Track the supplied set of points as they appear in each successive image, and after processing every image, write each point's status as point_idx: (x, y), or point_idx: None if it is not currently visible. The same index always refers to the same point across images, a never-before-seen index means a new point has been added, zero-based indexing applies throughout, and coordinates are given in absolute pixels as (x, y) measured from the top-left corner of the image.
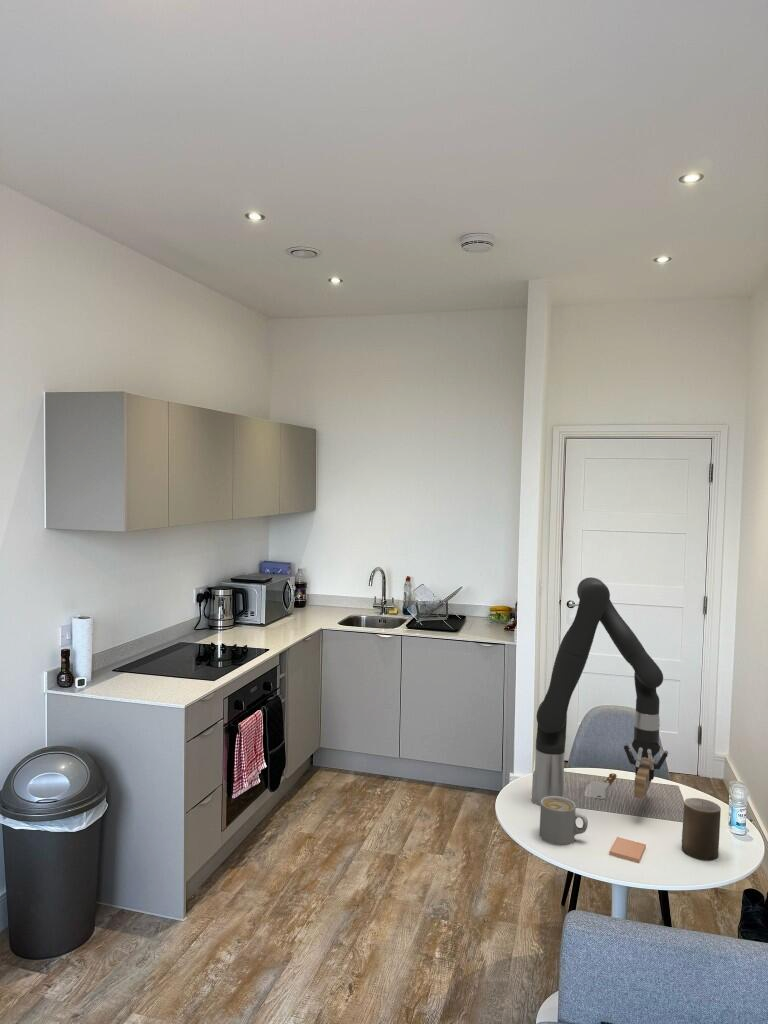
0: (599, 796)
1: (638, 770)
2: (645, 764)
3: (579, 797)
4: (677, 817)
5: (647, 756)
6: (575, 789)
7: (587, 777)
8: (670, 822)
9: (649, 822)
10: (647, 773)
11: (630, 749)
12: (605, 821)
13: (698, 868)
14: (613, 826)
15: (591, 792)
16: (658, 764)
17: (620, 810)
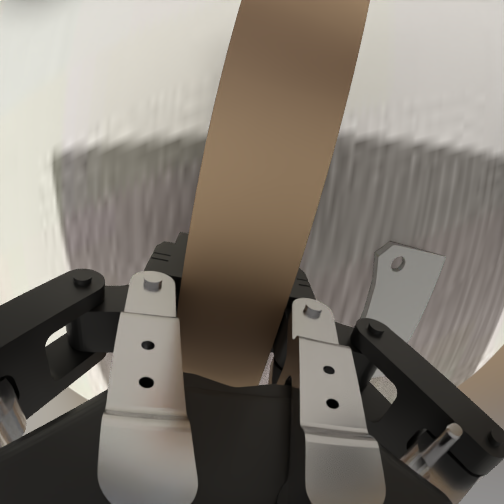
0: (394, 270)
1: (318, 187)
2: (220, 371)
3: (457, 241)
4: (94, 186)
5: (197, 394)
6: (450, 299)
7: (387, 391)
8: (122, 122)
9: (212, 84)
10: (213, 120)
11: (435, 449)
12: (399, 48)
13: None
14: (370, 11)
15: (412, 293)
16: (64, 300)
17: (332, 168)
